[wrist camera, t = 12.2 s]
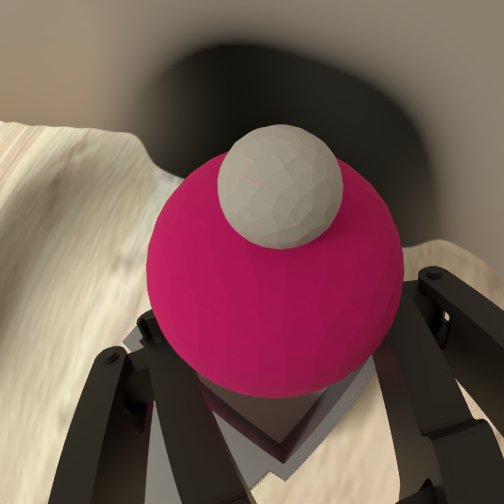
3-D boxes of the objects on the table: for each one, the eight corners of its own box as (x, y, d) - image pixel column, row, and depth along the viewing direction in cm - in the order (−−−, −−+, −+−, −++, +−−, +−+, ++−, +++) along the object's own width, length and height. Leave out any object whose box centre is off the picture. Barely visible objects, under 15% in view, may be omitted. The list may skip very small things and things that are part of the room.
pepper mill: (317, 297, 23) (431, 47, 5) (319, 392, 20) (557, 408, 2) (222, 298, 23) (109, 48, 5) (219, 392, 20) (-13, 416, 2)
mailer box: (75, 446, 19) (28, 455, 13) (257, 241, 26) (254, 198, 20) (181, 543, 16) (157, 580, 10) (378, 329, 23) (412, 310, 17)
